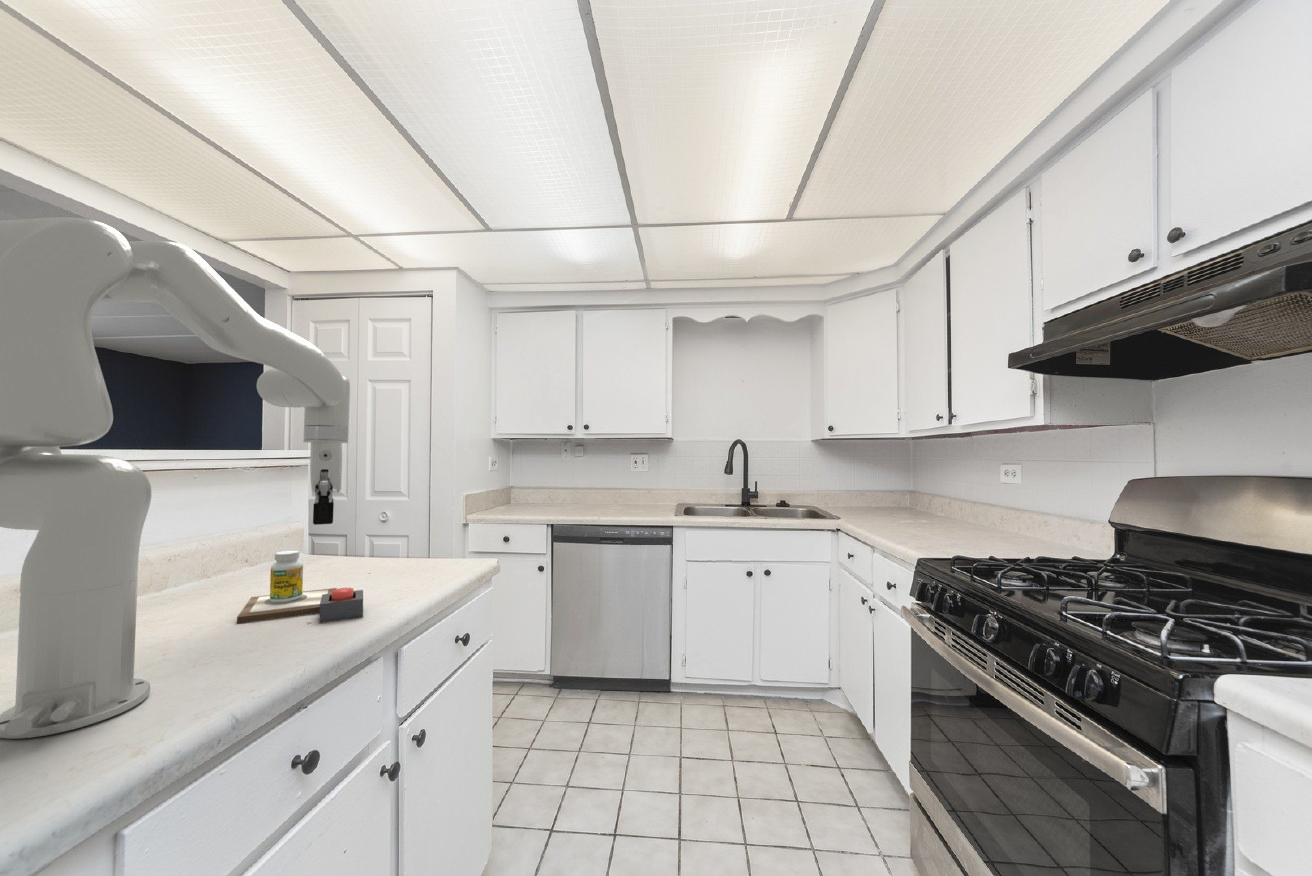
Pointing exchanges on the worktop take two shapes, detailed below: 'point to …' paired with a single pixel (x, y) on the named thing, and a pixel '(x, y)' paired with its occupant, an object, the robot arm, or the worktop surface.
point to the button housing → (341, 607)
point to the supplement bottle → (286, 577)
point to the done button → (342, 594)
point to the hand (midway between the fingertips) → (323, 520)
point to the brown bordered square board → (282, 607)
